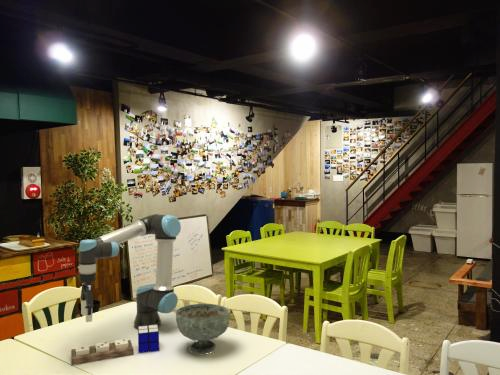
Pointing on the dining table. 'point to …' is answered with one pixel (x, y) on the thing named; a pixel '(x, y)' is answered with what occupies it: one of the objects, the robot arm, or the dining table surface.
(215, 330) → the decorative bowl
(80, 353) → the tile one
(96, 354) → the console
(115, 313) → the dining table surface
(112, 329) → the dining table surface
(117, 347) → the tile two
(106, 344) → the tile three
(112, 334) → the dining table surface
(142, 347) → the puzzle cube
